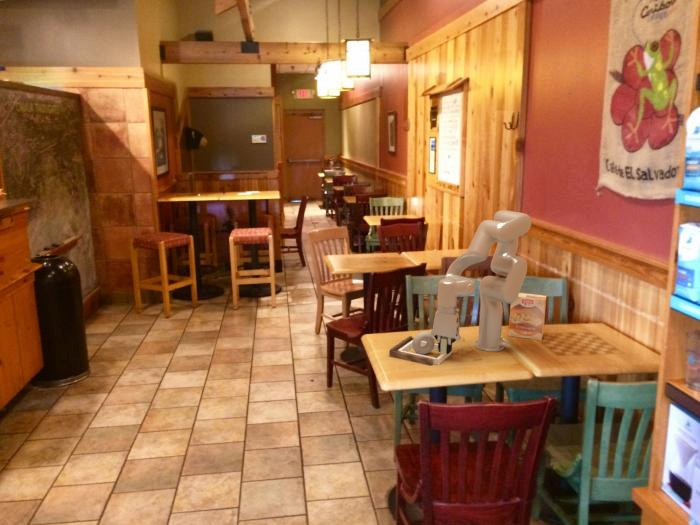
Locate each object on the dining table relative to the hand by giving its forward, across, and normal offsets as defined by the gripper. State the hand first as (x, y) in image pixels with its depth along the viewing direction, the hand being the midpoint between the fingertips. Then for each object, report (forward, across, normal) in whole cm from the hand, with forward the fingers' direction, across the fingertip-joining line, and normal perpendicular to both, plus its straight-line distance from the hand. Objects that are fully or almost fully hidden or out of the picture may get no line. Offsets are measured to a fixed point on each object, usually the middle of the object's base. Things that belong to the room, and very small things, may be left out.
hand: (444, 351), depth 244 cm
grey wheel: (+3, +10, 0) cm, 10 cm away
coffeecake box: (+3, -21, -46) cm, 51 cm away
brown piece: (+3, +11, 0) cm, 12 cm away
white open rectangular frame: (+3, +9, 0) cm, 9 cm away
